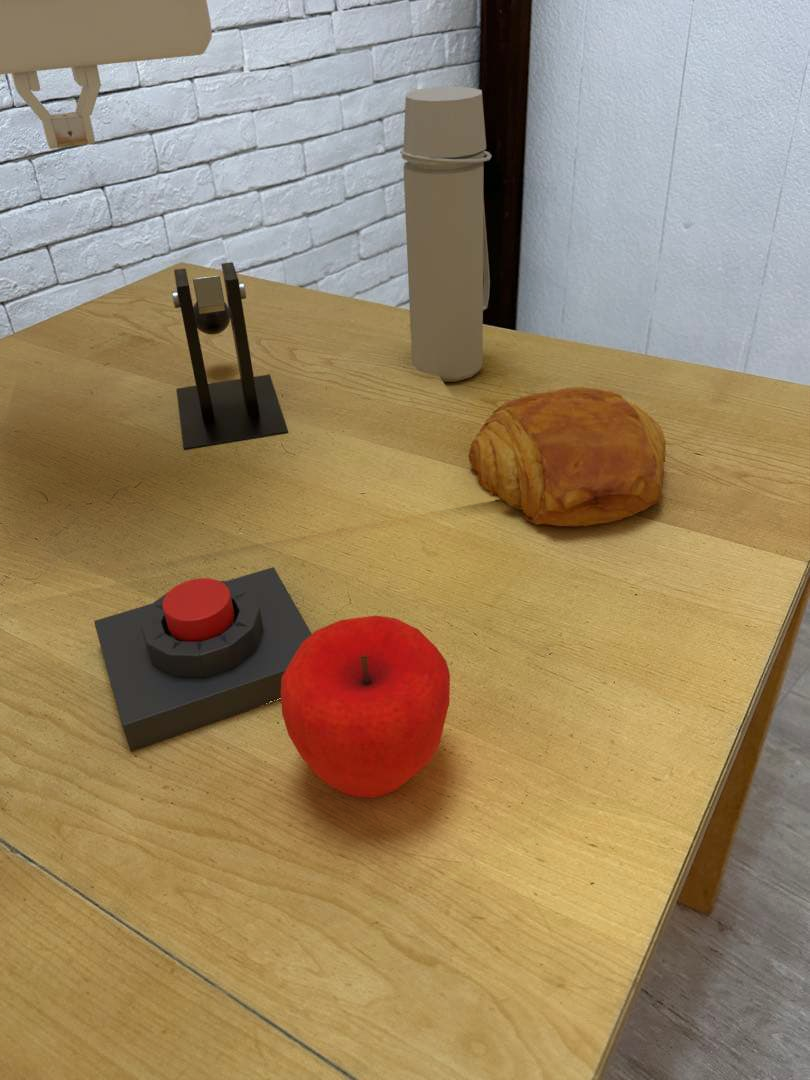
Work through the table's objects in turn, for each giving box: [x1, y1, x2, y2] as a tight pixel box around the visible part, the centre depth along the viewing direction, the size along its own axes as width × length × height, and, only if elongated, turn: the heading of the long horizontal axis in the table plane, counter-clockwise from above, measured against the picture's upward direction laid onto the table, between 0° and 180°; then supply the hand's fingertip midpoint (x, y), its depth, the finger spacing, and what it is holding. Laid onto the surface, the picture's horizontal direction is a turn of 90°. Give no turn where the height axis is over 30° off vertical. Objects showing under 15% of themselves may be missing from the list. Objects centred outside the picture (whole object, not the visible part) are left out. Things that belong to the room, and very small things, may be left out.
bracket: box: [171, 261, 289, 451], centre depth 79 cm, size 12×9×14 cm
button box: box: [93, 566, 313, 753], centre depth 56 cm, size 12×10×4 cm
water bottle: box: [399, 85, 492, 383], centre depth 83 cm, size 9×8×25 cm
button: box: [162, 577, 234, 642], centre depth 54 cm, size 4×4×2 cm
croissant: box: [467, 386, 667, 527], centre depth 70 cm, size 14×16×8 cm
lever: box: [192, 275, 231, 336], centre depth 81 cm, size 13×4×4 cm, turn 14°
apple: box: [280, 615, 451, 799], centre depth 47 cm, size 9×9×8 cm
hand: (71, 144), depth 60 cm, fingers closed
